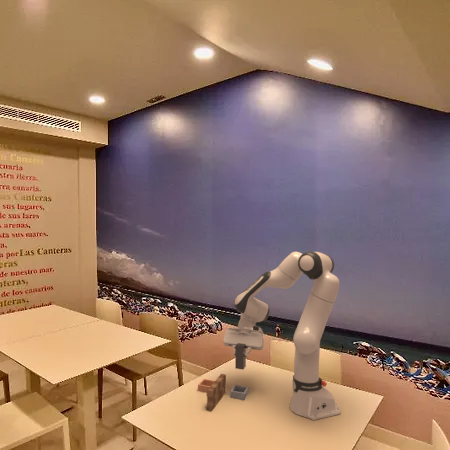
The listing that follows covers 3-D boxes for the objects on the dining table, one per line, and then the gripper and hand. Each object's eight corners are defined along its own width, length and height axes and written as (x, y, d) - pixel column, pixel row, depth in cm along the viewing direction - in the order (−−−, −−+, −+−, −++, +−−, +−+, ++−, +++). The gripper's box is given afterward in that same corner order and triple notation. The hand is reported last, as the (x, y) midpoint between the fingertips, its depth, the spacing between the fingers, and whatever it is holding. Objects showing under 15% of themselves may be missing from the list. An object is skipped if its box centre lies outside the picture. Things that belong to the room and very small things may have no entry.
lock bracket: (203, 384, 181) (203, 378, 181) (216, 387, 179) (216, 381, 179) (197, 390, 174) (197, 384, 174) (211, 393, 172) (211, 387, 172)
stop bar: (237, 365, 173) (238, 342, 173) (245, 366, 172) (245, 343, 171) (235, 368, 169) (235, 345, 169) (243, 369, 168) (243, 346, 168)
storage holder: (234, 390, 175) (234, 384, 175) (248, 393, 173) (248, 387, 173) (230, 397, 169) (230, 391, 169) (244, 400, 166) (244, 393, 166)
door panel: (217, 391, 175) (218, 373, 174) (225, 392, 173) (225, 374, 173) (203, 409, 158) (204, 389, 158) (212, 411, 156) (212, 391, 156)
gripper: (225, 324, 180) (218, 350, 171) (264, 328, 173) (259, 355, 164) (228, 330, 184) (221, 355, 175) (266, 334, 178) (261, 361, 168)
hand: (240, 355), depth 170 cm, fingers closed on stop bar, 4 cm apart
